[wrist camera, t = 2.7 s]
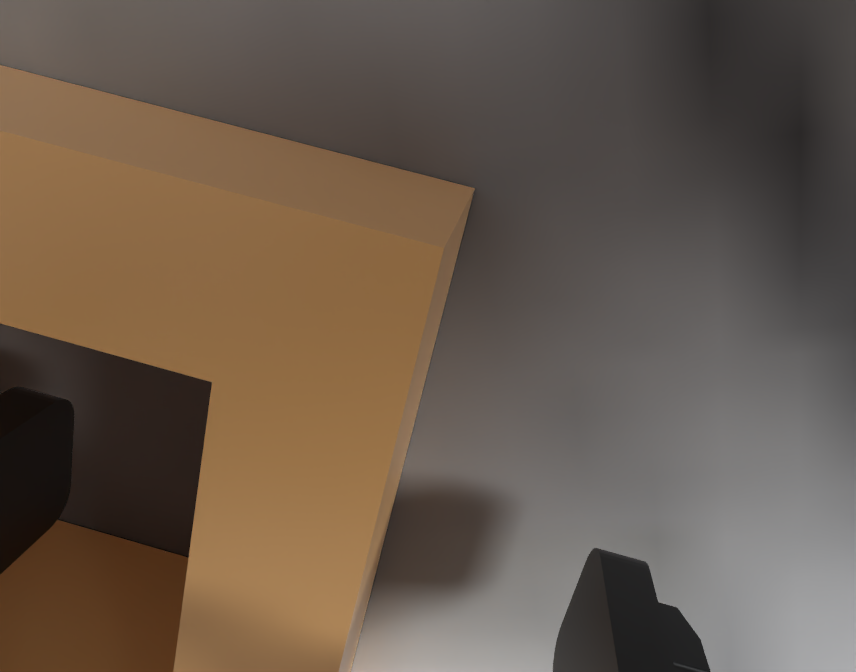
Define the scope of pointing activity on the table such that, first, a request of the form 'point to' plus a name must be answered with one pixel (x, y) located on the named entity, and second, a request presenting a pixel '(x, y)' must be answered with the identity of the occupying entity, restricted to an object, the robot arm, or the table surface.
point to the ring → (222, 370)
